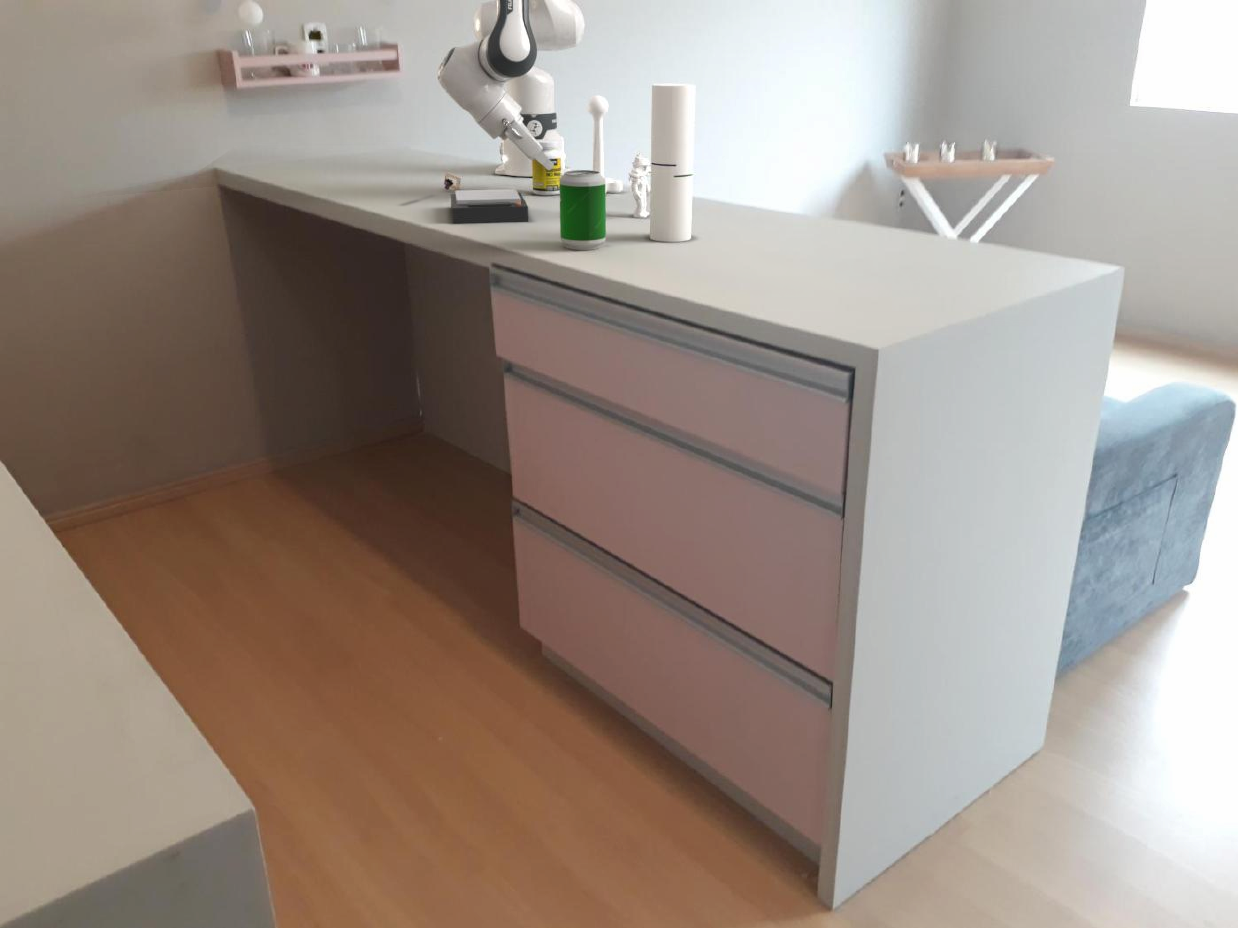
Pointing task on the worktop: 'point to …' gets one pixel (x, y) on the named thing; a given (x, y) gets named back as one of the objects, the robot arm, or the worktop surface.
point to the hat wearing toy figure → (640, 185)
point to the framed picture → (450, 182)
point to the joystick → (601, 141)
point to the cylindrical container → (671, 161)
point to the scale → (488, 206)
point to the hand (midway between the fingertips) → (549, 165)
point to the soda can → (582, 209)
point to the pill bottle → (547, 171)
